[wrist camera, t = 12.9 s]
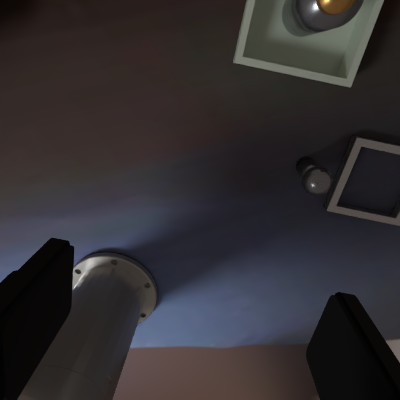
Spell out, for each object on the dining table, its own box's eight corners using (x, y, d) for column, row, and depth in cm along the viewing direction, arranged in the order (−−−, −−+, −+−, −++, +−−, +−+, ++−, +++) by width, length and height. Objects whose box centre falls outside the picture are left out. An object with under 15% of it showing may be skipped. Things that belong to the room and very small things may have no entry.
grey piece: (394, 220, 36) (426, 250, 30) (281, 197, 36) (291, 223, 30) (431, 151, 32) (475, 170, 27) (305, 124, 32) (323, 138, 26)
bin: (337, 84, 30) (350, 87, 27) (232, 62, 30) (234, 62, 27) (384, -46, 26) (407, -62, 23) (262, -73, 26) (267, -93, 22)
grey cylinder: (334, -10, 27) (382, -40, 19) (317, 41, 28) (356, 33, 20) (290, -20, 27) (319, -54, 19) (276, 31, 28) (298, 20, 20)
